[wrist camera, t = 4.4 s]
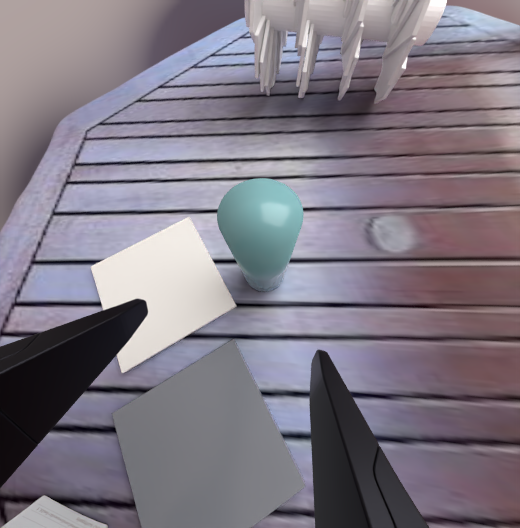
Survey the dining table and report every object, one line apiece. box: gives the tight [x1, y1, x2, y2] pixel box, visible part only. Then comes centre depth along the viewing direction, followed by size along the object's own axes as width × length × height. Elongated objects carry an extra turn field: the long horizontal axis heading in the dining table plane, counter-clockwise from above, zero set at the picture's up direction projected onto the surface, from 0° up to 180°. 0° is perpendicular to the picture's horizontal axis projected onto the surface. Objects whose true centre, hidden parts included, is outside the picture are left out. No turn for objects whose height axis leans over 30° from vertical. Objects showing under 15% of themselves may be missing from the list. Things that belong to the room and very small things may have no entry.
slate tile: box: [112, 339, 306, 528], centre depth 18 cm, size 14×14×1 cm
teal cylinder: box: [217, 178, 303, 292], centre depth 17 cm, size 5×5×13 cm
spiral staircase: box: [245, 0, 447, 104], centre depth 25 cm, size 18×18×25 cm
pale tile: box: [91, 217, 237, 373], centre depth 23 cm, size 14×14×1 cm
